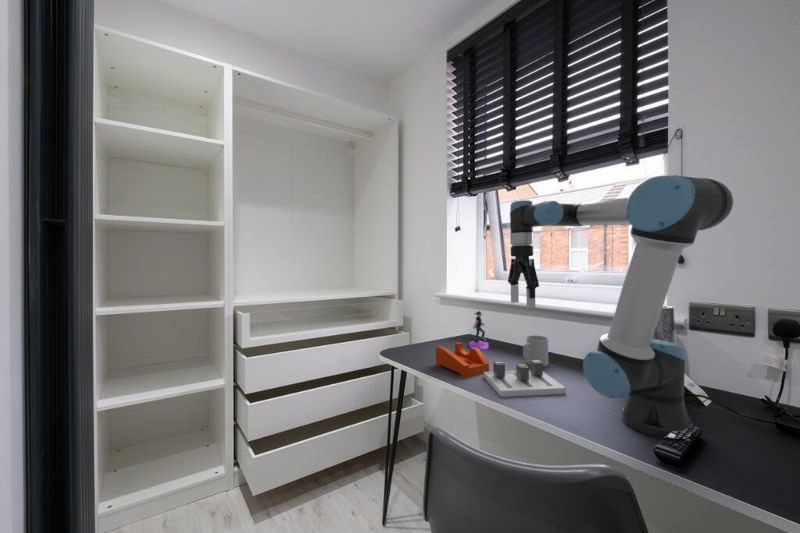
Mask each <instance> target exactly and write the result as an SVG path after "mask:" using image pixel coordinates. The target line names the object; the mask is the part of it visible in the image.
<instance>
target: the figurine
mask: <svg viewBox="0 0 800 533" xmlns="http://www.w3.org/2000/svg"><path fill="white" fill-rule="evenodd" d="M474 315H475V316H476V317H475V323H474V325H473V326H472V327H473V330H475V329H476V334H475V336H474V339H473V340H472V341H469V349H470V348H473V347H476V348H479V349H480V350H487V349H488V348H489V342H487V340H486V339H485V335H486V332H485V330H484V329H483V328H482V327H484V326H485V322H482V318H481V317H482V312H481V310H479V311H478V310H477V312H475V313H474ZM480 332H481V337H480V340H478V337H479V335H480Z"/></svg>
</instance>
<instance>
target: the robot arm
mask: <svg viewBox="0 0 800 533" xmlns="http://www.w3.org/2000/svg"><path fill="white" fill-rule="evenodd" d="M733 208H734V198H733V193H732V191H731V190H730V189H729V188H728V186H726V185H725V184H724V183H722V182H721V181H718V180H716V179H711V178H707V177H704V178H703V177H693V176H692V177H691V176H682V175H677V174H675V175H659V176H654V177H651V178H649V179H646V180H645V181H643V182H642V183H640V184H639V185H637V186H636V187H635V188H634V189H633V191H632V192H631V193H630V194H629V196H628V197H623V198H622V197H621V198H615V199H607V200H605V199H603V200H596V201H587V202H585V201H584V202H578V203H561V202H560V203H559V202H558V201H557V200H546V201H543V202H538V203H534V202H533V201H532V200H528V199H524V200H523V199H522V200H521V199H520V200H516V201H512V202H511V204H510V210H509V211H510V212H509V221H510V226H509V227H510V239H509V241H510V242H509V243H510V245H511V247H510V257H514V258H511V260H510V267H509V274H508V280H507V283H509V285H510V303H511V304H512V303H514V304H515V303H517V304H518V303H519V302H520V299H519V294H520V293H519V290H520V288H519V285H520V284H519V280H520V277H521V274H522V275H523V278H524V280H525V283H526V287H525V289H526V292H525V293H526V309H535V308H536V289H537V288H539V287H540V283H539V279H538V276H537V271H536V266H535V259H534V258H530V257H533V256H534V246H533V243H534V237H535V236H534V230H533V229H534V227H578V228H579V227H584V226H586V227H587V226H614V225H615V226H616V225H617V226H618V225H631V230H630V232H629V235H630V236H631V237H632V238H633V240H634V246H633V249H632V252H631V257H630V260H629V263H628V265H627V266H628V267H627V270H626V274H625V277H624V280H623V285H622V288H621V291H620V295H619V298H618V301H617V305H616V308H615V311H614V315H613V318H612V322H611V325H610V328H609V332H608V333H604V334H602V335H601V336H600V338H599V340H598V345H597V349H596V350H591V351H590V352H588V353H586V354H585V356H584V359H583V362H582V369H583V374H584V376H585V378H586V379H587V382H588V383H589V385H590V386H591V387H592V388H593V390H594V391H595V392H597V393H598V394H600V395H601V396H602V397H604V398H608V399H625V398H626V400H625V404H624V406H623V408H622V409H621V418H622V421H623V423H625V425H627V426H628V427H630V428H631V429H632V430H633V429H634V430H635V431H638V432H640V433H643V434H644V435H648V436H651V437H655V438H659V439H664V438H663V437H665V436H666V435H668V434H669V433H670V432H672V431H678V430H685V429H687V428H689V427H692V426H693V423H692V421H691V418H690V415H689V413H688V409H687V407H686V404H685V365H686V364H685V363H686V359H685V358H686V357H685V349H684V347H683V346H681V345H679V344H677V343H674V342H671V341H665V340H661V339H656V338H653V337H654V334H655V330H656V328H657V325H658V322H659V318H660V316H661V313H662V310H663V307H664V304H665V302H666V301H665V300H666V298H667V295H668V292H669V288H670V285H671V282H672V280H673V277H674V274H675V271H676V269H677V265H678V263H679V258H680V256H681V253H682V251H683V250H684V249H686V248H688V247H689V246H693V245H694V244H695V239H696V236H697V234H698V232H699V231H705V230H708V229H712V228H714V227H716V226H718V225H719V224H721V223H722V222H723V221H725V220H726V219H727V218H728V216H729V215H730V214H731V212H732V209H733Z"/></svg>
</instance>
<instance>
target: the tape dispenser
mask: <svg viewBox="0 0 800 533" xmlns="http://www.w3.org/2000/svg"><path fill="white" fill-rule="evenodd" d="M469 350H470V351H469V352H467V351H466V350H465V347H464V344H463V343H462V342H459V341H458V342H454V352H452V350H450V349H449V348H447V347H445V346H442V345H436V346H435V366H437V367H439V368H440V367H444V368H447V369H449V370H451V371H454V372H456V373H458V374H459V376H460V377H461V378H464V379H466V378H470V377H473V376H478V375H481V374H484V372H490V363H489V362H488V360H487V358H486V357H485V355H484V353H482V350H481V349H479V348H476V347H473V348H470V347H469Z"/></svg>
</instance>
